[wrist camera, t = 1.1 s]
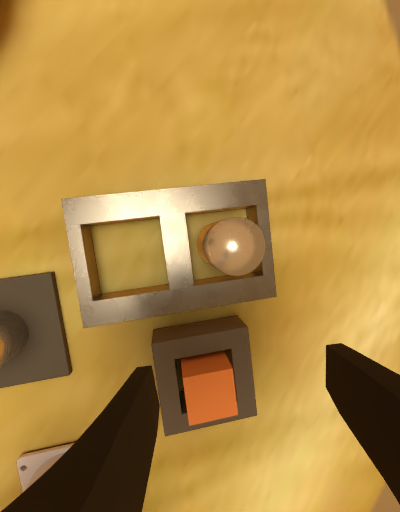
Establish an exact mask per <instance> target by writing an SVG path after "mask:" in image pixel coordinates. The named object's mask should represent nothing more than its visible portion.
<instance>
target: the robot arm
mask: <svg viewBox="0 0 400 512" xmlns="http://www.w3.org/2000/svg"><path fill="white" fill-rule="evenodd" d="M326 388H327V390H328V392H329V394H330V396H331V398H332V400H333V402H334V404H335V406H336V407H337V409H338V411H339V413H340V414H341V416H342V418H343V419H344V421H345V422H346V424H347V425H348V427H349V428H350V430H351V431H352V433H353V434H354V436H355V437H356V439H357V440H358V441H359V443H360V444H361V446H362V447H363V449H364V450H365V452H366V453H367V455H368V456H369V458H370V459H371V461H372V462H373V464H374V465H375V467H376V468H377V469H378V471H379V472H380V474H381V475H382V477H383V478H384V480H385V481H386V483H387V485H388V486H389V488H390V489H391V491H392V492H393V494H394V496H395V497H396V499H397V501H398V502H399V504H400V375H399V374H397V373H395V372H393V371H391V370H389V369H388V368H386V367H384V366H382V365H380V364H379V363H377V362H375V361H373V360H371V359H370V358H368V357H366V356H364V355H362V354H361V353H359V352H357V351H355V350H353V349H351V348H350V347H348V346H346V345H344V344H342V343H339V344H331V345H326ZM159 407H160V406H159V400H158V395H157V390H156V385H155V380H154V375H153V370H152V366H144V367H137V368H136V369H135V370H134V372H133V373H132V374H131V375H130V377H129V378H128V379H127V381H126V382H125V383H124V385H123V386H122V387H121V389H120V390H119V391H118V392H117V394H116V395H115V396H114V398H113V399H112V400H111V401H110V403H109V404H108V405H107V406H106V408H105V409H104V410H103V411H102V412H101V414H100V415H99V416H98V417H97V418H96V420H95V421H94V422H93V423H92V424H91V425H90V426H89V428H88V429H87V430H86V431H85V432H84V433H83V434H82V436H81V437H80V438H79V439H78V440H77V441H76V442H75V443H71V444H67V445H62V446H58V447H53V448H49V449H44V450H40V451H35V452H31V453H26V454H23V455H21V456H20V457H19V458H18V460H17V468H18V473H19V478H20V483H21V487H22V492H23V493H22V494H21V495H20V496H19V497H17V498H16V499H15V500H14V501H13V502H12V503H11V504H9V505H8V506H7V507H6V508H5V509H4V510H2V511H1V512H142V508H143V502H144V497H145V492H146V487H147V482H148V477H149V472H150V467H151V462H152V457H153V452H154V447H155V442H156V437H157V429H158V419H159ZM23 465H25V466H26V467H25V466H23Z"/></svg>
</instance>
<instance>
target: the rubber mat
mask: <svg viewBox="0 0 400 512" xmlns="http://www.w3.org/2000/svg"><path fill="white" fill-rule="evenodd" d="M1 310H2V311H10V312H13V313H15V314H17V315H19V316H20V317H21V318H22V319H23V320H24V321H25V323H26V324H27V327H28V330H29V338H28V342H27V344H26V346H25V347H24V348H23V349H22V350H21V351H20V352H19V353H18V354H17V355H15V356H14V357H13V358H11V359H10V360H9V361H8V362H6V363H5V364H4V365H2V366H1V367H0V388H3V387H9V386H14V385H19V384H25V383H30V382H36V381H41V380H46V379H52V378H57V377H62V376H68V375H70V374H71V372H72V368H71V363H70V357H69V352H68V346H67V341H66V335H65V329H64V324H63V318H62V313H61V307H60V302H59V296H58V291H57V285H56V280H55V274H54V272H49V273H41V274H34V275H26V276H19V277H11V278H4V279H0V311H1Z"/></svg>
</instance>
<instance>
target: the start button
mask: <svg viewBox="0 0 400 512" xmlns="http://www.w3.org/2000/svg"><path fill="white" fill-rule="evenodd" d="M180 360H181V368H182V377H183V384H184V392H185V399H186V406H187V414H188V421H189V426H191V425H196V424H200V423H205V422H209V421H214V420H218V419H222V418H227V417H231V416H236V415H238V409H237V401H236V392H235V383H234V375H233V368H232V366H231V364H230V362H229V360H228V358H227V356H226V354H225V352H224V350H221V351H216V352H210V353H205V354H200V355H194V356H189V357H184V358H180Z"/></svg>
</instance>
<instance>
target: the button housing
mask: <svg viewBox="0 0 400 512" xmlns="http://www.w3.org/2000/svg"><path fill="white" fill-rule="evenodd" d="M151 345H152V352H153V359H154V365H155V372H156V379H157V386H158V393H159V399H160V406H161V413H162V420H163V427H164V433H165V436H169V435H174V434H178V433H182V432H187V431H191V430H195V429H200V428H204V427H209V426H213V425H217V424H222V423H226V422H231V421H235V420H239V419H244V418H248V417H252V416H257V409H256V399H255V390H254V381H253V371H252V362H251V353H250V343H249V334H248V327H247V326H246V324H245V323H244V322H243V321H242V320H241V319H240V318H239V317H238V316H231V317H225V318H219V319H213V320H208V321H202V322H196V323H190V324H184V325H178V326H172V327H167V328H161V329H155V330H153V336H152V343H151ZM221 350H225V354H226V356H227V358H228V360H229V362H230V364H231V366H232V368H233V375H234V383H235V392H236V401H237V409H238V415H236V416H231V417H227V418H222V419H218V420H214V421H209V422H205V423H200V424H196V425H191V426H189V421H188V414H187V406H186V399H185V392H184V391H180V390H179V383H178V376H177V369H176V361H175V359H178V358H184V357H189V356H194V355H200V354H205V353H210V352H216V351H221Z"/></svg>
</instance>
